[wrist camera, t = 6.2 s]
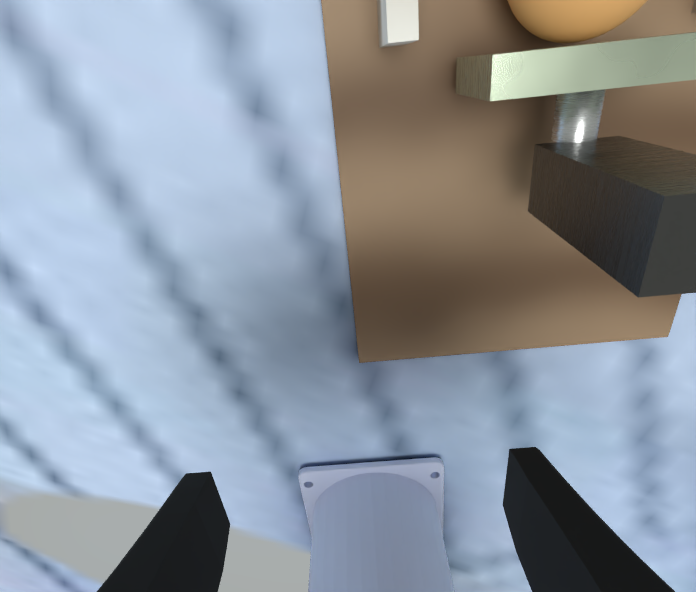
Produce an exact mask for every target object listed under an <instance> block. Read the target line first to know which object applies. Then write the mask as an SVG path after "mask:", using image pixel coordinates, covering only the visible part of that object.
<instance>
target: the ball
mask: <svg viewBox="0 0 696 592" xmlns="http://www.w3.org/2000/svg"><path fill="white" fill-rule="evenodd" d="M507 1H508V3H509V5H510V8H511V10H512V12H513V14H514V16H515V17H516V19H517V20H518V21H519V22H520V24H521V25H522V26H523V27H524V28H525V29H526V30H528V31H529V32H530V33H532V34H533V35H535V36H537V37H539V38H541V39H543V40H547V41H551V42H556V43H575V42H581V41H586V40H589V39H593V38H595V37H598V36H600V35H602V34H605V33H607V32H609V31H610V30H612V29H614V28H616V27H617V26H619V25H620V24H622V23H623V22H625V21H626V20H627V19H628V18H630V17H631V16H632V15H633V14H634V13H636V12H637V11H638V10H639V9H640V8H641V7H642V6H643V5H644V4H645V3H646V2H647V0H507Z"/></svg>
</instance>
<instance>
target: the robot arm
mask: <svg viewBox="0 0 696 592" xmlns="http://www.w3.org/2000/svg"><path fill="white" fill-rule="evenodd" d="M298 479H299V484H300V488H301V492H302V497H303V501H304V506H305V510H306V514H307V519H308V523H309V528H310V532H311V536H312V544H311V559H310V574H309V589H308V592H455V591H454V587H453V582H452V577H451V572H450V568H449V563H448V558H447V554H446V549H445V544H444V540H443V510H444V465H443V461H442V460H441V459H440V458H436V457H432V458H419V459H406V460H392V461H379V462H366V463H353V464H340V465H326V466H313V467H304V468H302V469H300V471H299V476H298ZM503 507H504V510H505V514H506V518H507V521H508V525H509V528H510V532H511V535H512V539H513V542H514V545H515V549H516V552H517V554H518V557H519V559H520V562H521V564H522V567H523V570H524V572H525V575H526V577H527V580H528V582H529V585H530V587H531V590H532V592H675V591H674V590H673V589H672V588H671V587H670V586H669V585H667V584H666V583H665V582H664V581H663V580H662V579H661V578H660V577H659V576H658V575H657V574H656V573H655V572H654V571H653V570H652V569H651V568H650V567H649V566H648V565H647V564H646V563H644V562H643V561H642V560H641V559H640V558H639V557H638V556H637V555H636V554H635V553H634V552H633V551H632V550H631V549H630V548H629V547H628V546H627V545H626V544H625V543H624V542H623V541H622V540H621V539H620V538H619V537H618V536H617V535H616V534H615V532H614V531H613V530H612V529H611V528H610V527H609V526H608V525H607V524H606V523H605V522H604V521H603V520H602V519H601V518H600V517H599V516H598V515H597V514H596V513H595V512H594V511H593V510H592V508H591V507H590V506H589V505H588V504H587V503H586V502H585V501H584V500H583V499H582V498H581V497H580V495H579V494H578V493H577V492H576V491H575V490H574V489H573V488H572V487H571V486H570V484H569V483H568V482H567V481H566V480H565V479H564V478H563V477H562V475H561V474H560V473H559V472H558V471H557V470H556V469H555V467H554V466H553V465H552V464H551V463H550V462H549V461H548V459H547V458H546V457H545V456H544V455H543V454H542V452H541V451H540V450H539V449H537V448H536V447H529V448H516V449H510V450H509V458H508V466H507V474H506V483H505V491H504V499H503ZM229 528H230V523H229V520H228V517H227V514H226V512H225V509H224V506H223V504H222V501H221V498H220V495H219V493H218V490H217V487H216V485H215V482H214V479H213V477H212V474H211V472H201V473H187V474H185V476H184V477H183V478H182V479H181V481H180V482H179V483H178V485H177V486H176V488H175V489H174V490H173V492H172V493H171V494H170V496H169V497H168V499H167V500H166V501H165V503H164V504H163V506H162V507H161V508H160V510H159V511H158V513H157V514H156V515H155V517H154V518H153V519H152V521H151V522H150V524H149V525H148V526H147V528H146V529H145V530H144V532H143V533H142V534H141V536H140V537H139V538H138V540H137V541H136V542H135V544H134V545H133V546H132V548H131V549H130V550H129V551H128V553H127V554H126V555H125V557H124V558H123V559H122V561H121V562H120V564H119V565H118V566H117V567H116V569H115V570H114V571H113V573H112V574H111V575H110V576H109V577H108V579H107V580H106V581H105V582H104V584H103V585H102V586H101V587H100V588H99V590H98V591H97V592H218V588H219V584H220V580H221V576H222V572H223V567H224V561H225V554H226V549H227V542H228V535H229Z"/></svg>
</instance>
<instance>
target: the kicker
mask: <svg viewBox="0 0 696 592" xmlns="http://www.w3.org/2000/svg"><path fill="white" fill-rule="evenodd" d="M687 80H696V32H690V33H680V34H670V35H660V36H650V37H641V38H632V39H623V40H614V41H605V42H596V43H587V44H578V45H569V46H560V47H551V48H542V49H532V50H523V51H514V52H505V53H496V54H487V55H478V56H469V57H460V58H456V94H460V95H464V96H469V97H473V98H477V99H482V100H486V101H499V100H508V99H518V98H527V97H536V96H546V95H555V94H557V97H556V105H555V113H554V121H553V129H552V137H551V143H543V144H535V148H534V157H533V167H532V176H531V185H530V194H529V204H528V212H529V213H530V214H532V215H533V216H534V217H535V218H537V219H538V220H539V221H541V222H542V223H543V224H544V225H546V226H547V227H548V228H550V229H551V230H552V231H553V232H555V233H556V234H557V235H558V236H560V237H561V238H562V239H564V240H565V241H566V242H567V243H569V244H570V245H571V246H573V247H574V248H575V249H576V250H578V251H579V252H580V253H582V254H583V255H584V256H585V257H587V258H588V259H589V260H591V261H592V262H593V263H594V264H596V265H597V266H598V267H600V268H601V269H602V270H603V271H605V272H606V273H607V274H609V275H610V276H611V277H612V278H614V279H615V280H616V281H618V282H619V283H620V284H621V285H623V286H624V287H625V288H627V289H628V290H629V291H630V292H632V293H633V294H634V295H636V296H637V297H638V298H639V297H650V296H662V295H673V294H685V293H696V154H692V153H688V152H684V151H680V150H676V149H672V148H667V147H663V146H659V145H655V144H651V143H647V142H643V141H639V140H635V139H631V138H627V137H623V136H612V137H602V138H597V137H598V132H599V126H600V120H601V114H602V109H603V103H604V97H605V91H606V89H612V88H621V87H631V86H640V85H650V84H659V83H668V82H678V81H687Z"/></svg>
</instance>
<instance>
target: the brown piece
mask: <svg viewBox="0 0 696 592" xmlns="http://www.w3.org/2000/svg"><path fill="white" fill-rule="evenodd" d="M321 3H322V13H323V22H324V32H325V41H326V51H327V60H328V70H329V79H330V89H331V98H332V108H333V117H334V127H335V137H336V146H337V156H338V165H339V175H340V184H341V194H342V203H343V213H344V222H345V232H346V241H347V251H348V260H349V270H350V279H351V289H352V298H353V308H354V318H355V327H356V337H357V346H358V356H359V363H364V362H375V361H387V360H399V359H411V358H423V357H435V356H446V355H458V354H470V353H482V352H494V351H506V350H517V349H529V348H541V347H553V346H565V345H577V344H588V343H600V342H612V341H624V340H636V339H648V338H659V337H668V335H669V332H670V329H671V326H672V323H673V319H674V316H675V313H676V310H677V307H678V304H679V300H680V297H681V294H673V295H662V296H650V297H639V298H638V297H637V296H636V295H634V294H633V293H632V292H630V291H629V290H628V289H627V288H625V287H624V286H623V285H621V284H620V283H619V282H618V281H616V280H615V279H614V278H612V277H611V276H610V275H609V274H607V273H606V272H605V271H603V270H602V269H601V268H600V267H598V266H597V265H596V264H594V263H593V262H592V261H591V260H589V259H588V258H587V257H585V256H584V255H583V254H582V253H580V252H579V251H578V250H576V249H575V248H574V247H573V246H571V245H570V244H569V243H567V242H566V241H565V240H564V239H562V238H561V237H560V236H558V235H557V234H556V233H555V232H553V231H552V230H551V229H550V228H548V227H547V226H546V225H544V224H543V223H542V222H541V221H539V220H538V219H537V218H535V217H534V216H533V215H532V214H530V213H529V212H528V204H529V194H530V185H531V176H532V167H533V157H534V148H535V144H543V143H551V137H552V129H553V121H554V113H555V105H556V97H557V94H555V95H546V96H536V97H527V98H518V99H508V100H499V101H486V100H482V99H477V98H473V97H469V96H464V95H460V94H456V58H460V57H469V56H478V55H487V54H496V53H505V52H514V51H523V50H532V49H542V48H551V47H560V46H569V45H578V44H587V43H596V42H605V41H614V40H623V39H632V38H641V37H650V36H660V35H670V34H680V33H690V32H696V0H647V2H646V3H645V4H644V5H643V6H642V7H641V8H640V9H639V10H638V11H637V12H636V13H634V14H633V15H632V16H631V17H630V18H628V19H627V20H626V21H625V22H623V23H622V24H620V25H619V26H617V27H616V28H614V29H612V30H610V31H609V32H607V33H605V34H602V35H600V36H598V37H595V38H593V39H589V40H586V41H581V42H575V43H556V42H551V41H547V40H543V39H541V38H539V37H537V36H535V35H533V34H532V33H530V32H529V31H528V30H526V29H525V28H524V27H523V26H522V25H521V24H520V22H519V21H518V20H517V19H516V17H515V16H514V14H513V12H512V10H511V8H510V5H509V3H508V1H507V0H321ZM612 136H623V137H627V138H631V139H635V140H639V141H643V142H647V143H651V144H655V145H659V146H663V147H667V148H672V149H676V150H680V151H684V152H688V153H692V154H696V80H687V81H678V82H668V83H659V84H650V85H640V86H631V87H621V88H612V89H606V91H605V97H604V103H603V109H602V114H601V120H600V126H599V132H598V137H597V138H602V137H612Z"/></svg>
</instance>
